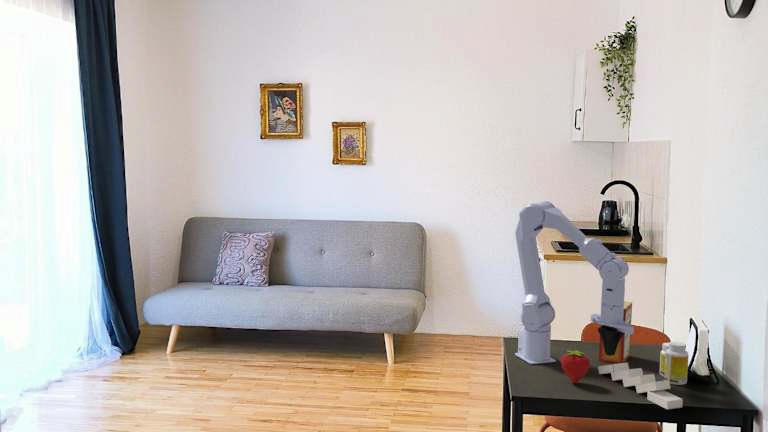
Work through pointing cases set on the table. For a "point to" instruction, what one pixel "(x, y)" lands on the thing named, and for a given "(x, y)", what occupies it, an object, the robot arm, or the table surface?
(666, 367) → the supplement bottle
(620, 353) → the baking soda box
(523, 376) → the table surface
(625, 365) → the domino head
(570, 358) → the strawberry
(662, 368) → the supplement bottle
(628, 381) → the domino
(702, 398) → the table surface
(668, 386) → the domino
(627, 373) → the domino
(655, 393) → the domino
